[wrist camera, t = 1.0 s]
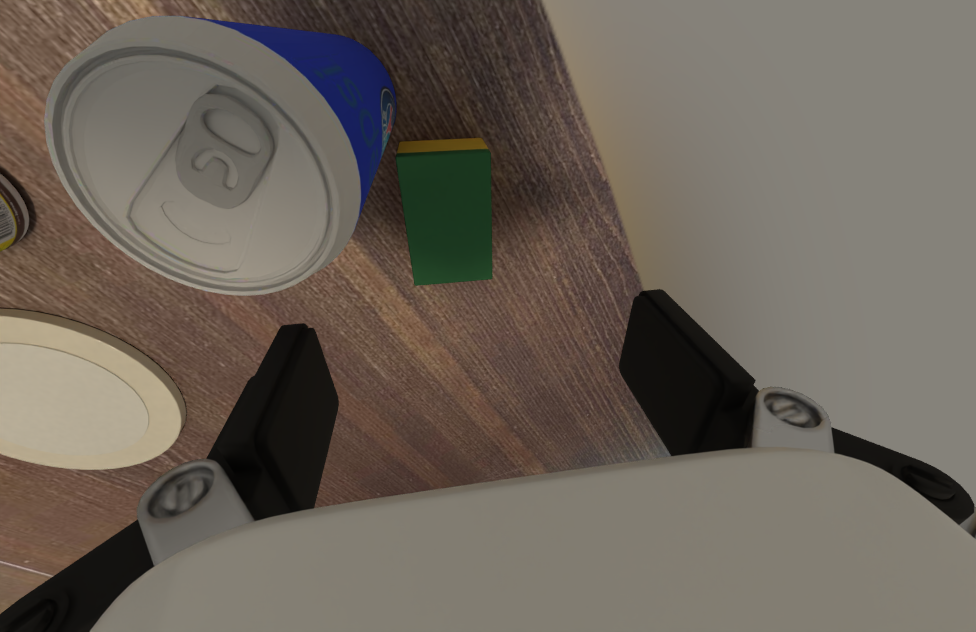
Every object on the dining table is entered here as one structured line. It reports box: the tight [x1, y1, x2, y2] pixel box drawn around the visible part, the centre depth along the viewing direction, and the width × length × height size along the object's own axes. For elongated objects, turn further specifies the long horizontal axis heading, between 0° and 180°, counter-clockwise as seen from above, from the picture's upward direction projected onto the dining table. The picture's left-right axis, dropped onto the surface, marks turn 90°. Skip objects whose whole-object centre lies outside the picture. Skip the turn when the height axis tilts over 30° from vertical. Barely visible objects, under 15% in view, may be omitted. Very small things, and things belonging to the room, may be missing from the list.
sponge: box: [396, 138, 492, 286], centre depth 21 cm, size 7×4×4 cm, turn 1°
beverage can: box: [44, 16, 397, 296], centre depth 13 cm, size 5×5×15 cm
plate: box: [0, 308, 186, 470], centre depth 27 cm, size 15×15×1 cm
